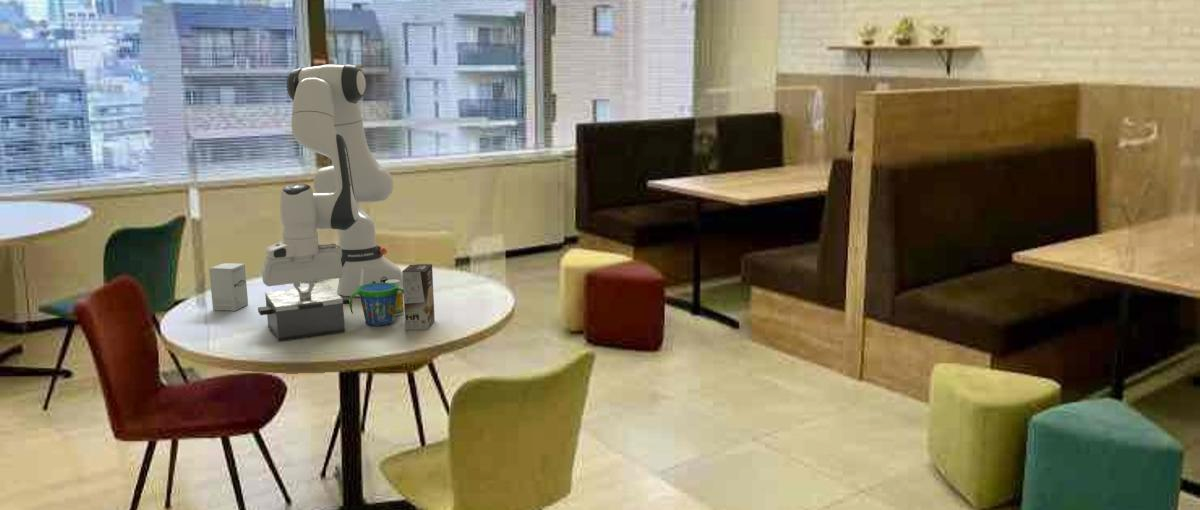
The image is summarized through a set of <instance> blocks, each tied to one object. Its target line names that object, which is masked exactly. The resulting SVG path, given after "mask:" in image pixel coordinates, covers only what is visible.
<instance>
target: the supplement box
mask: <svg viewBox="0 0 1200 510" xmlns="http://www.w3.org/2000/svg"><path fill="white" fill-rule="evenodd" d="M208 270H209V280H210V281H209V283H210V292H211V302H212V303H211V305H212V311H221V310H231V311H230V312H235V311H237V310H239V309H241V308H243V307H246V305H247V306H248V305H249V298H248V287H247V277H246V276H247V275H246V263H235V262H233V263H232V262H231V263H228V262H227V263H226V262H224V263H221V264H217V265H215V266H212V267H209V269H208Z"/></svg>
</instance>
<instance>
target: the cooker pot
mask: <svg viewBox="0 0 1200 510" xmlns="http://www.w3.org/2000/svg"><path fill="white" fill-rule="evenodd" d="M340 297H341V298H342V299H343V303H340V304H333V305H325V306H323V307H319V308H311V309H304V310H299V309H294V310H286V311H278V312H276V311H275V310H274V308H273V307H272V305H271V304H270V302H269V301H268V300H267V298H266V297H265V304H266V306H260V307H257V313H259V316H265V315H266V317H267V326H268V328H269V329H270V332H272V335H274V337H275V338H276V340H277V341H278V342H287V341H292V340H295V341H296V340H300V339H301V340H302V339H306V338H308V339H309V338H314V337H323V336H328V335H336V334H341V333H343V334H344V333H346V327H345V313H344V305H349V300H350V298H348V296H340Z"/></svg>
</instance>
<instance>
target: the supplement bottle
mask: <svg viewBox="0 0 1200 510" xmlns="http://www.w3.org/2000/svg"><path fill="white" fill-rule="evenodd" d="M385 283H392V284H395V285H397V286H398V287H399V286H400V281H399V280H395V279H394V280H387V281H385ZM400 288H401V287H400ZM404 314H405V313H404V294H403V292H402V291H401V290H399V291H398V292H397V296H396V301H395V312H394V317H397V316H402V315H404Z"/></svg>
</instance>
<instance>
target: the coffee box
mask: <svg viewBox="0 0 1200 510" xmlns="http://www.w3.org/2000/svg"><path fill="white" fill-rule="evenodd" d="M401 272H402V275H403V306H404V313H403V314H404V329H405V330H406V331H407V330H408V331H413V330H414V331H415V330H416V331H418V330H421V331H423V330H429V329H430V327H431V326H432V325H433V324H434V323H435V319H436V317H435V299H434V298H435V297H434V280H433V279H434V278H433V264H430V263H429V264H428V263H425V264H424V263H422V264H409V265H408V266H406V267H405V268H404V269H403V270H401Z"/></svg>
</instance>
